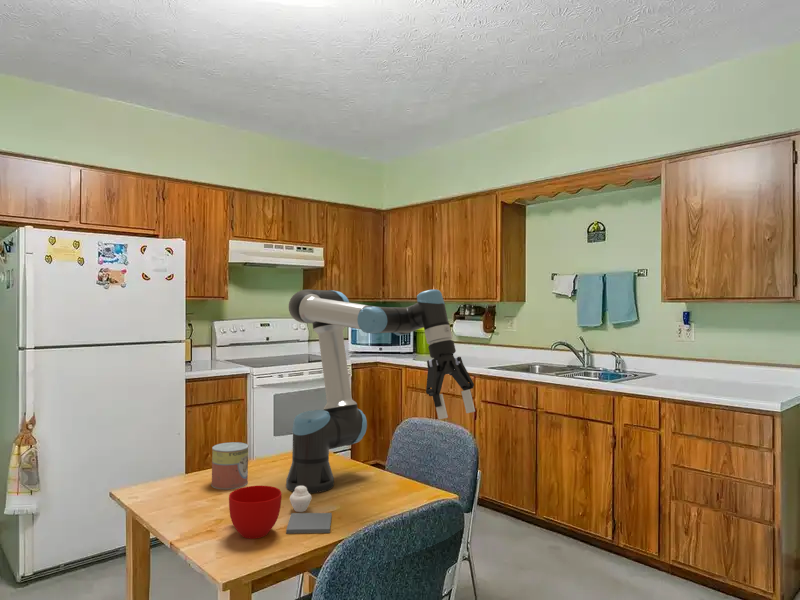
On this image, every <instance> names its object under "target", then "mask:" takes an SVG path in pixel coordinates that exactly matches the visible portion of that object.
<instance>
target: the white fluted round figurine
mask: <svg viewBox="0 0 800 600" xmlns="http://www.w3.org/2000/svg"><path fill="white" fill-rule="evenodd" d="M311 494H312V493H308V491H307V488H306V487H305V486H297V487H296V488H295V489H294V492H293V491H292V493H291V494H290V496H289V501H290V505H291V507H292V508H293V510H294V511H295V513H305V512H306V511H307V509H308V507H309V505H310V503H311V500H312V495H311Z"/></svg>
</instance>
